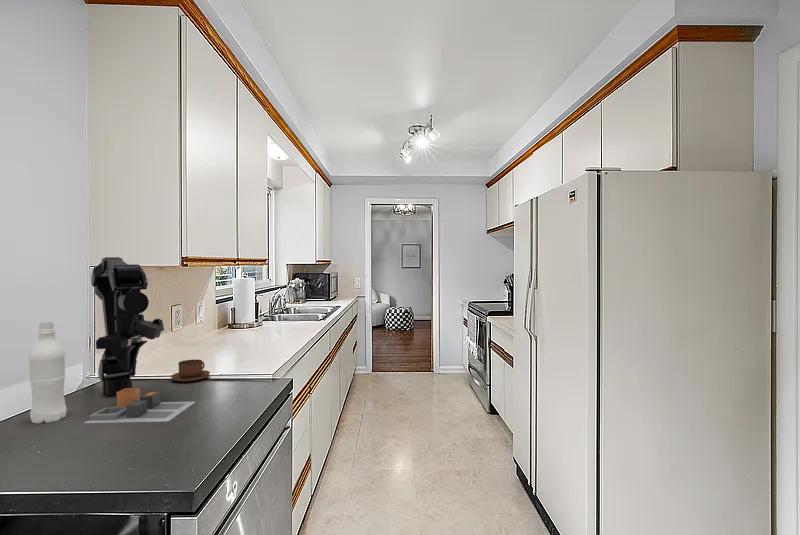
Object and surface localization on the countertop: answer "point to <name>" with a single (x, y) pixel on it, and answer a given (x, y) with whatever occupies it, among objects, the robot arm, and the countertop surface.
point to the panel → (176, 411)
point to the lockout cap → (127, 396)
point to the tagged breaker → (151, 399)
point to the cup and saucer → (190, 371)
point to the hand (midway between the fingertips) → (128, 369)
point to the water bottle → (47, 377)
